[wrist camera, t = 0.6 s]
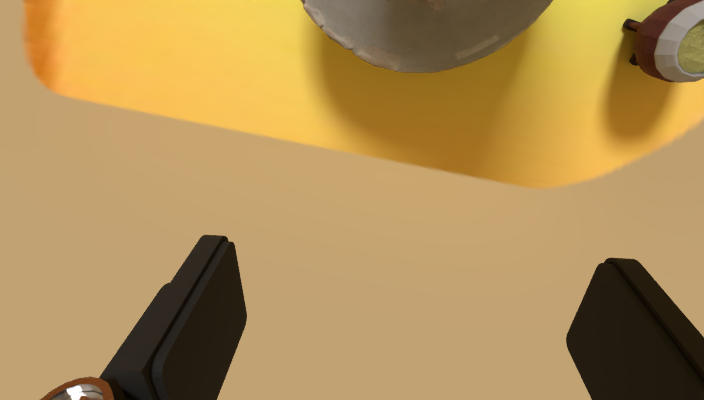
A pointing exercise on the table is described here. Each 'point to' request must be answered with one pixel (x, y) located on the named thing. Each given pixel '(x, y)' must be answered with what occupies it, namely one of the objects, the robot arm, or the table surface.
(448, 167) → the table surface
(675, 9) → the mate gourd
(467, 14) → the ceramic bowl
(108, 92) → the table surface
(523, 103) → the table surface
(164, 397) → the robot arm
